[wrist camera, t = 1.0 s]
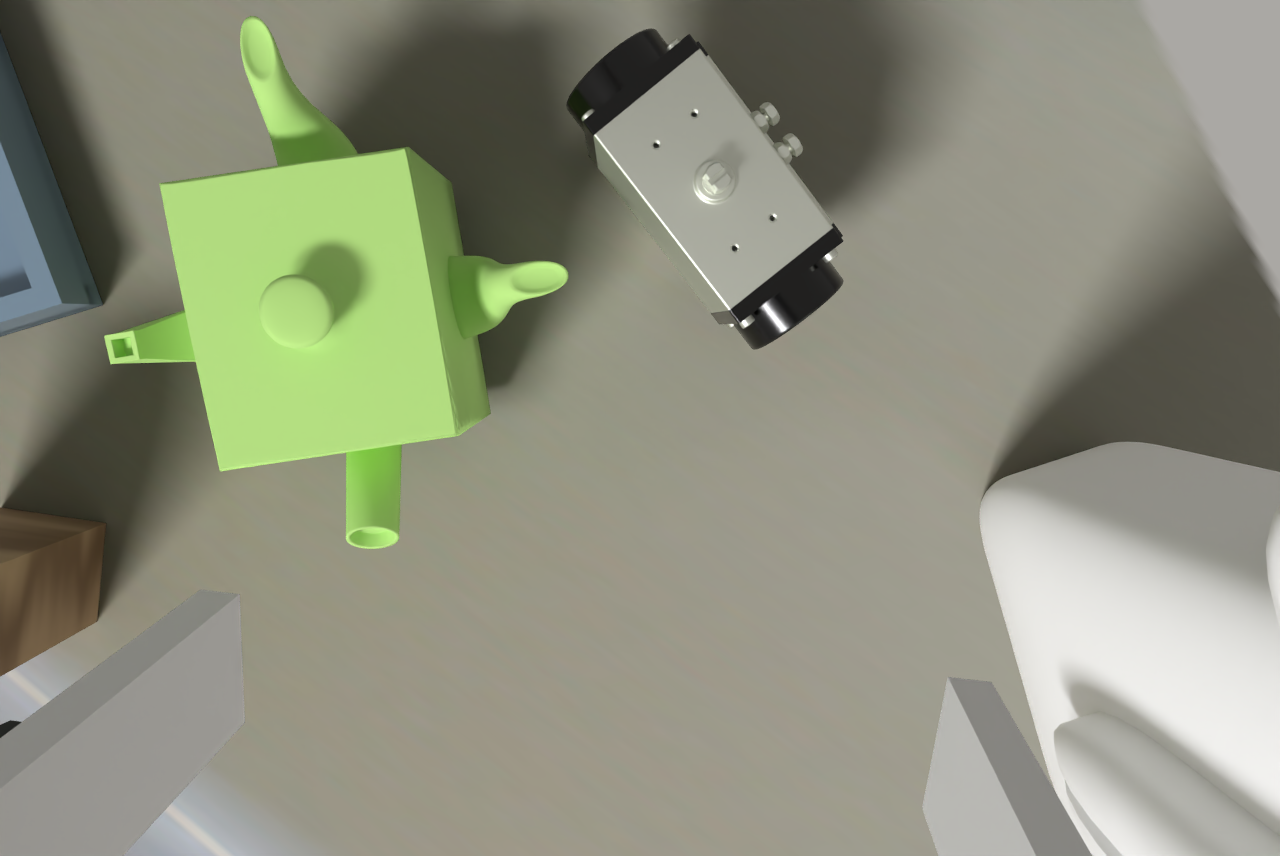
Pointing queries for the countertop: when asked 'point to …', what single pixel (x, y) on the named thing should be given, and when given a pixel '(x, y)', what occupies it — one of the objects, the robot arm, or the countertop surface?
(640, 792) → the countertop surface
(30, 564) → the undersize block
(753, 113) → the pneumatic valve
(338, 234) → the kettle
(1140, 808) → the toaster
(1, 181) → the tray
